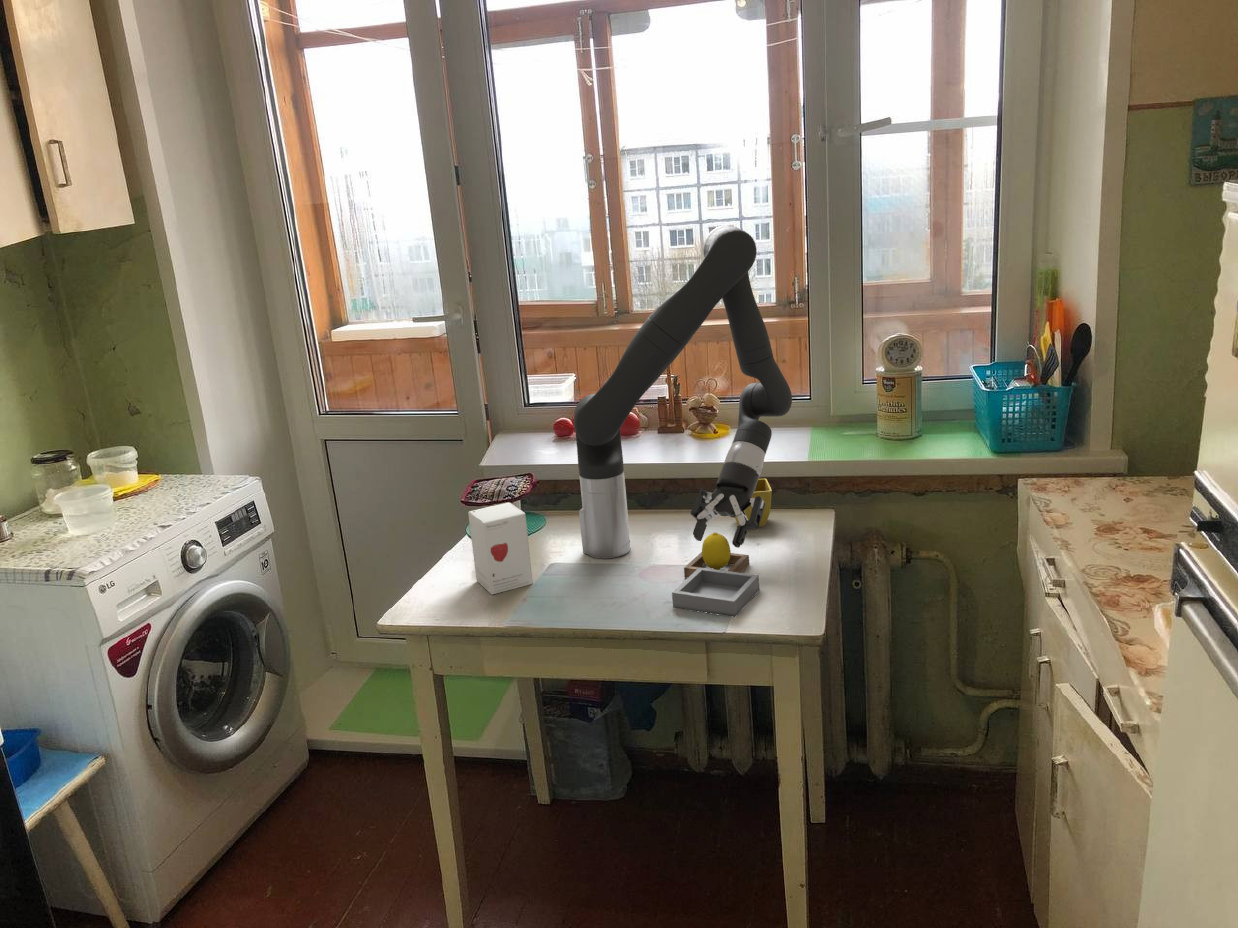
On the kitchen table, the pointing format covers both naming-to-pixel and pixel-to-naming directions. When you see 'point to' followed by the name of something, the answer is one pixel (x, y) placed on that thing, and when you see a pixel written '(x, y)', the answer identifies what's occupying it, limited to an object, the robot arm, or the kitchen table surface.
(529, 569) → the supplement box
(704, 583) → the charcoal tray
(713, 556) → the lemon
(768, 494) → the flower pot
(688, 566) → the wooden square frame
